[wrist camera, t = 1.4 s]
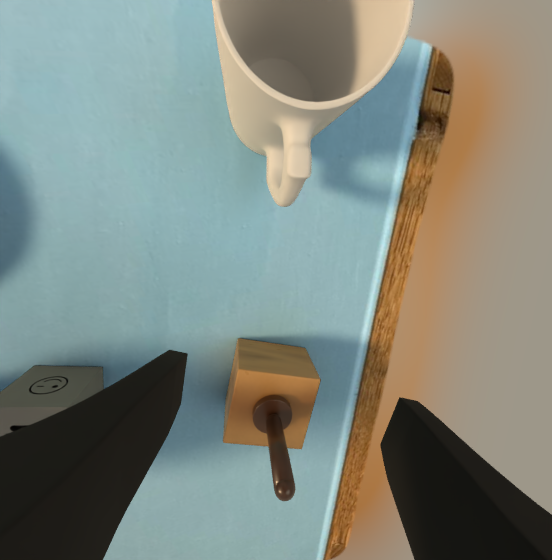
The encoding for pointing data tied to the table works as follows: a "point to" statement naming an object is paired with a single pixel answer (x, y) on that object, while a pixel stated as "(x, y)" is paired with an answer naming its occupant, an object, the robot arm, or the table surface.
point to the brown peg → (276, 441)
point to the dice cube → (46, 394)
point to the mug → (301, 72)
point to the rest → (269, 390)
